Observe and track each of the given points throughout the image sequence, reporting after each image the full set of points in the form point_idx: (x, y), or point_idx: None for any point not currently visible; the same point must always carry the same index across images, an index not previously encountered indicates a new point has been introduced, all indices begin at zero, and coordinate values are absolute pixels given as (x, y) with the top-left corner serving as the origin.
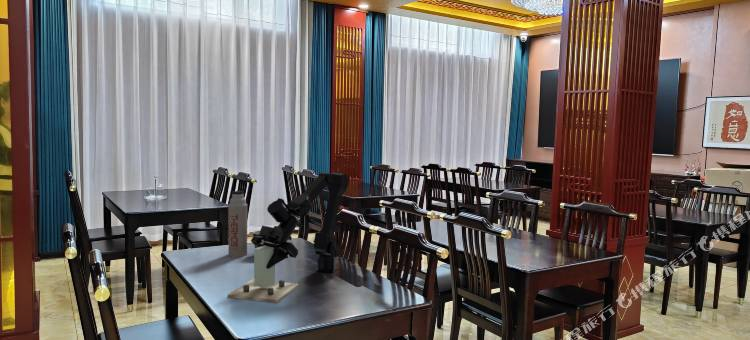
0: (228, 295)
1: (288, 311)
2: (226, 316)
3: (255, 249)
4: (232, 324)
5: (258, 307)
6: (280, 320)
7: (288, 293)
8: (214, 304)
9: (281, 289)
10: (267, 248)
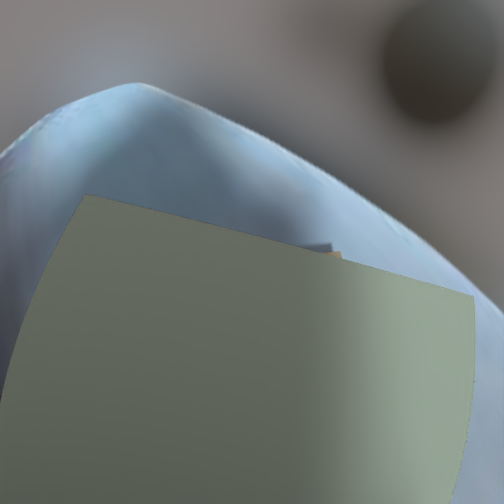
0: (333, 253)
1: (32, 217)
2: (207, 121)
3: (426, 292)
4: (162, 98)
5: None
6: (48, 156)
7: None
8: (316, 179)
9: None
10: (114, 495)
